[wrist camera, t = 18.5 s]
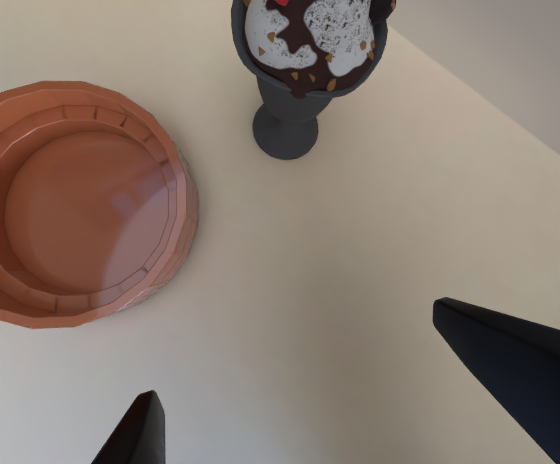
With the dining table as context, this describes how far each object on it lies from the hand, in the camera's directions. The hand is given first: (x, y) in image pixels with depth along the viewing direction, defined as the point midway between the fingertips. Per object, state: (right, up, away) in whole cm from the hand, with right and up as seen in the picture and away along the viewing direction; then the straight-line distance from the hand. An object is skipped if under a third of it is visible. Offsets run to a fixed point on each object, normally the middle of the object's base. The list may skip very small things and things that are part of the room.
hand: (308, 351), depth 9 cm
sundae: (0, +11, +14) cm, 18 cm away
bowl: (-14, +5, +12) cm, 19 cm away
